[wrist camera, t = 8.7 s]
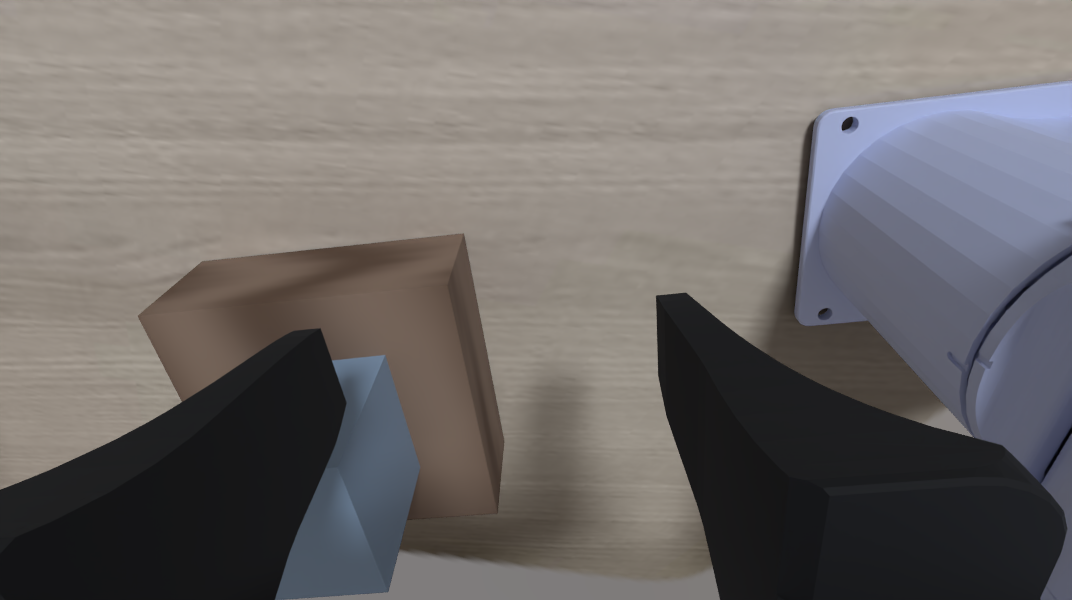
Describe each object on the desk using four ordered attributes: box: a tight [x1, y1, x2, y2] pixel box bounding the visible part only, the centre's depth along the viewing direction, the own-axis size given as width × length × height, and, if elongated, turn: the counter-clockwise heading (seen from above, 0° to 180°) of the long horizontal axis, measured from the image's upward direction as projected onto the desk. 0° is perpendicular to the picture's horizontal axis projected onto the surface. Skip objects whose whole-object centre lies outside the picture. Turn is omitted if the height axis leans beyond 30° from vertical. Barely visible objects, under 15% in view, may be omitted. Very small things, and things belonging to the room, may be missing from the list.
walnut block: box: [138, 234, 504, 520], centre depth 23 cm, size 10×10×4 cm
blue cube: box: [275, 355, 420, 600], centre depth 19 cm, size 5×5×5 cm
